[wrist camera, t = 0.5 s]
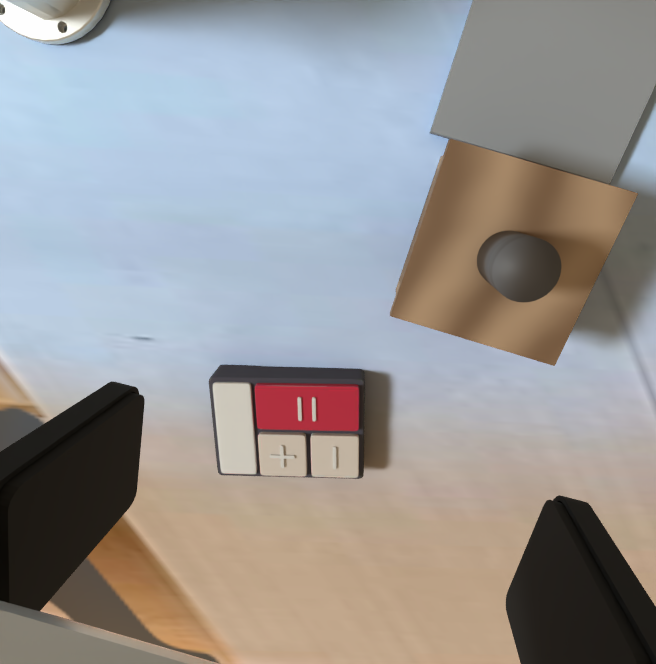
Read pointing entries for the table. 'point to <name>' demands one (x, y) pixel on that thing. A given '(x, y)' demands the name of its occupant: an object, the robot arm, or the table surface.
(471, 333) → the lid
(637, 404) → the table surface
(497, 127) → the mat
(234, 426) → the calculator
